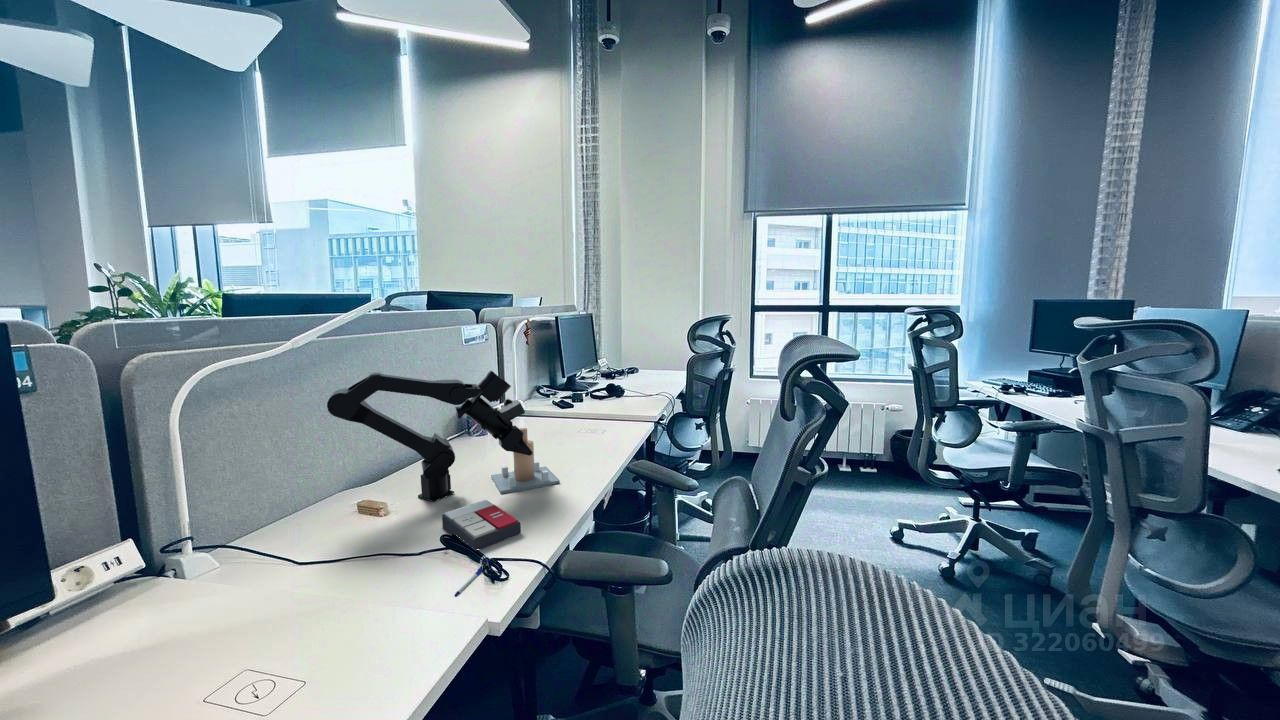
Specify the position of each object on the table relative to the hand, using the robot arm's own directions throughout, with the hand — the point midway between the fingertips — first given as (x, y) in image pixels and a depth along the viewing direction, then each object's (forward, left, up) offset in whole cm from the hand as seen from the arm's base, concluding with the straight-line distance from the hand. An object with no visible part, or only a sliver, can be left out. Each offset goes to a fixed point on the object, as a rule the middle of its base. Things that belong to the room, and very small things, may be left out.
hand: (527, 449), depth 138 cm
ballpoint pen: (-43, -25, -9) cm, 50 cm away
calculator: (-28, -12, -9) cm, 32 cm away
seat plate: (-1, +1, -9) cm, 9 cm away
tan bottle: (-1, +1, -8) cm, 8 cm away
